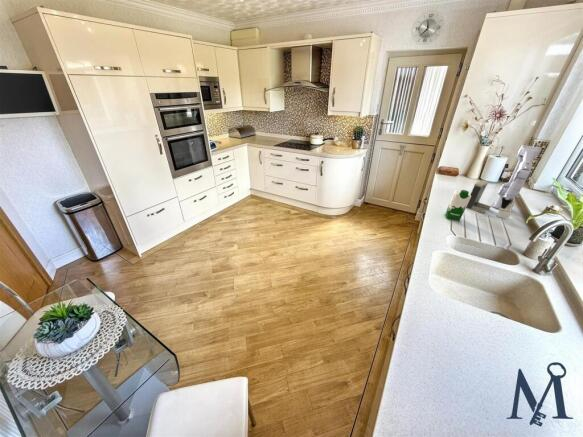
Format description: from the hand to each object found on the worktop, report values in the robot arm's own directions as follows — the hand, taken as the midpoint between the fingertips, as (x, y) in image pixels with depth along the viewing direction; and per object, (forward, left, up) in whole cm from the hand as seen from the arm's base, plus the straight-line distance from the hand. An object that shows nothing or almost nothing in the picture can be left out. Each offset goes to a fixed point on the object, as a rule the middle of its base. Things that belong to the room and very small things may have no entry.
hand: (504, 206), depth 157 cm
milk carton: (+32, -18, -7) cm, 37 cm away
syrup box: (0, +2, -7) cm, 7 cm away
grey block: (0, -14, -7) cm, 15 cm away
